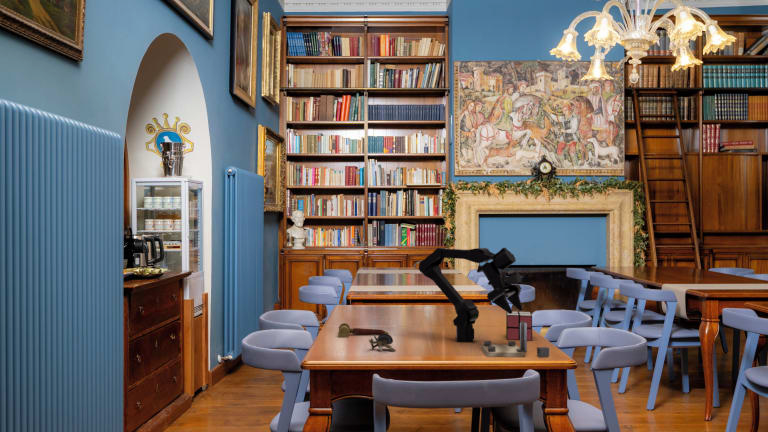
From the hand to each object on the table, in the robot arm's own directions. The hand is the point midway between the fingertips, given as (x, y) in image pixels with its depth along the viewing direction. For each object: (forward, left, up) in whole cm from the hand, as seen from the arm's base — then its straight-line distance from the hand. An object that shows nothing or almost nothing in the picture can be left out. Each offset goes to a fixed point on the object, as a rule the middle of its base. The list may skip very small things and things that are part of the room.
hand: (516, 311), depth 207 cm
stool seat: (-7, -8, -13) cm, 17 cm away
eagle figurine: (-50, -6, -14) cm, 52 cm away
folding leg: (+1, -8, -13) cm, 16 cm away
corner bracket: (+6, -13, -13) cm, 20 cm away
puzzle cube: (+5, +19, -14) cm, 24 cm away
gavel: (-59, +23, -14) cm, 65 cm away
